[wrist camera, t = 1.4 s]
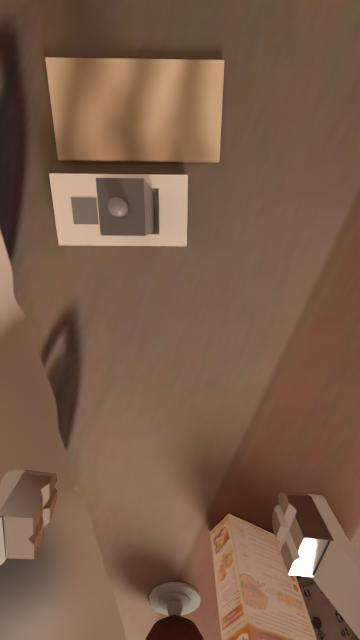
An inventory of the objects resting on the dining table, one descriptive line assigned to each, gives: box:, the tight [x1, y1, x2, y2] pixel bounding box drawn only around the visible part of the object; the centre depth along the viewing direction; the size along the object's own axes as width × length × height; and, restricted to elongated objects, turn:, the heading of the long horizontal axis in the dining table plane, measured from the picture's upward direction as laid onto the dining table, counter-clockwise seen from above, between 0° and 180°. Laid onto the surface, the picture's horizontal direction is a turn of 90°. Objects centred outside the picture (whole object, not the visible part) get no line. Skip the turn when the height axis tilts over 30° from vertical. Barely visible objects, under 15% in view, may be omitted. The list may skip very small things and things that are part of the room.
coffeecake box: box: [210, 513, 317, 640], centre depth 50 cm, size 15×7×20 cm, turn 57°
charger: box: [96, 178, 155, 236], centre depth 29 cm, size 4×5×14 cm
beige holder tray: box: [49, 174, 188, 246], centre depth 35 cm, size 16×8×4 cm, turn 90°
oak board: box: [45, 57, 224, 163], centre depth 33 cm, size 20×10×1 cm, turn 90°
